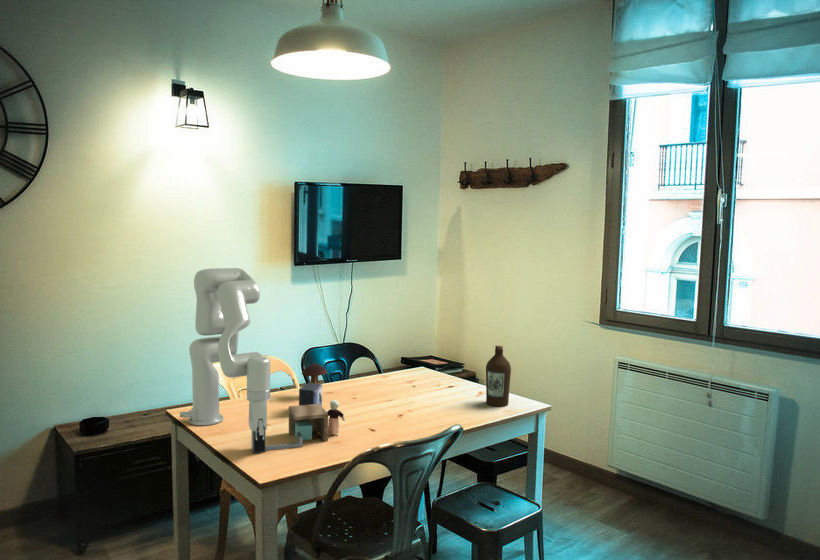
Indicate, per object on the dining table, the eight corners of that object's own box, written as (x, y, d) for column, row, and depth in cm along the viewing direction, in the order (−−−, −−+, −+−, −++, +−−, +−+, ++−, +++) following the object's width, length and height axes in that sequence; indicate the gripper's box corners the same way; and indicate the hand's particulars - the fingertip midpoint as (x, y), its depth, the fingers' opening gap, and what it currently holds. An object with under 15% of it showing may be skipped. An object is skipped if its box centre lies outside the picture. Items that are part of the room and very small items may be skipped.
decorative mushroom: (307, 402, 269) (307, 367, 268) (297, 395, 278) (298, 362, 277) (331, 399, 274) (331, 364, 273) (321, 393, 284) (321, 359, 283)
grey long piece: (253, 453, 209) (253, 432, 208) (250, 446, 214) (250, 426, 214) (303, 448, 214) (303, 427, 214) (299, 441, 220) (299, 422, 220)
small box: (313, 416, 250) (313, 390, 249) (298, 414, 251) (298, 388, 250) (322, 408, 260) (322, 383, 259) (307, 407, 261) (307, 382, 261)
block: (297, 440, 222) (297, 426, 221) (294, 436, 226) (295, 422, 226) (311, 439, 224) (312, 425, 223) (308, 434, 228) (308, 421, 228)
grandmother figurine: (322, 436, 226) (323, 401, 225) (323, 432, 230) (324, 398, 229) (344, 436, 227) (345, 401, 226) (345, 433, 231) (345, 398, 230)
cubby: (295, 444, 218) (295, 416, 217) (288, 432, 230) (288, 406, 229) (327, 441, 222) (328, 413, 221) (319, 429, 234) (319, 403, 233)
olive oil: (488, 399, 280) (489, 342, 277) (512, 402, 276) (514, 345, 274) (482, 405, 270) (483, 347, 267) (506, 408, 266) (508, 349, 264)
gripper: (244, 389, 216) (244, 441, 218) (249, 402, 200) (249, 459, 202) (266, 387, 219) (266, 439, 220) (274, 400, 203) (273, 456, 205)
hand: (258, 448), depth 211 cm, fingers closed on grey long piece, 4 cm apart
